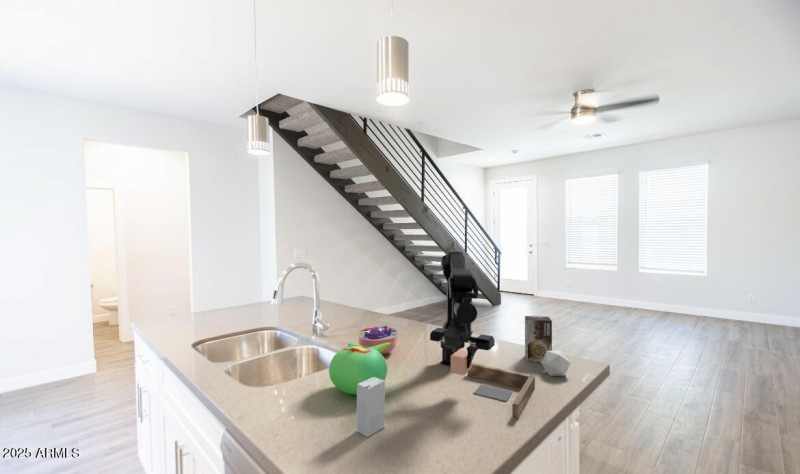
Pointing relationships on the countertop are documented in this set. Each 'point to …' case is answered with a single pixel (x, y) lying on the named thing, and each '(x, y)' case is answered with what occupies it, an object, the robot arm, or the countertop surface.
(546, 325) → the coffee box
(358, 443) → the countertop surface
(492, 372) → the wooden corner wall
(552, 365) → the die
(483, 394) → the mat
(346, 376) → the toy bird
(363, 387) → the skincare box
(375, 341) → the cell model
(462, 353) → the block
